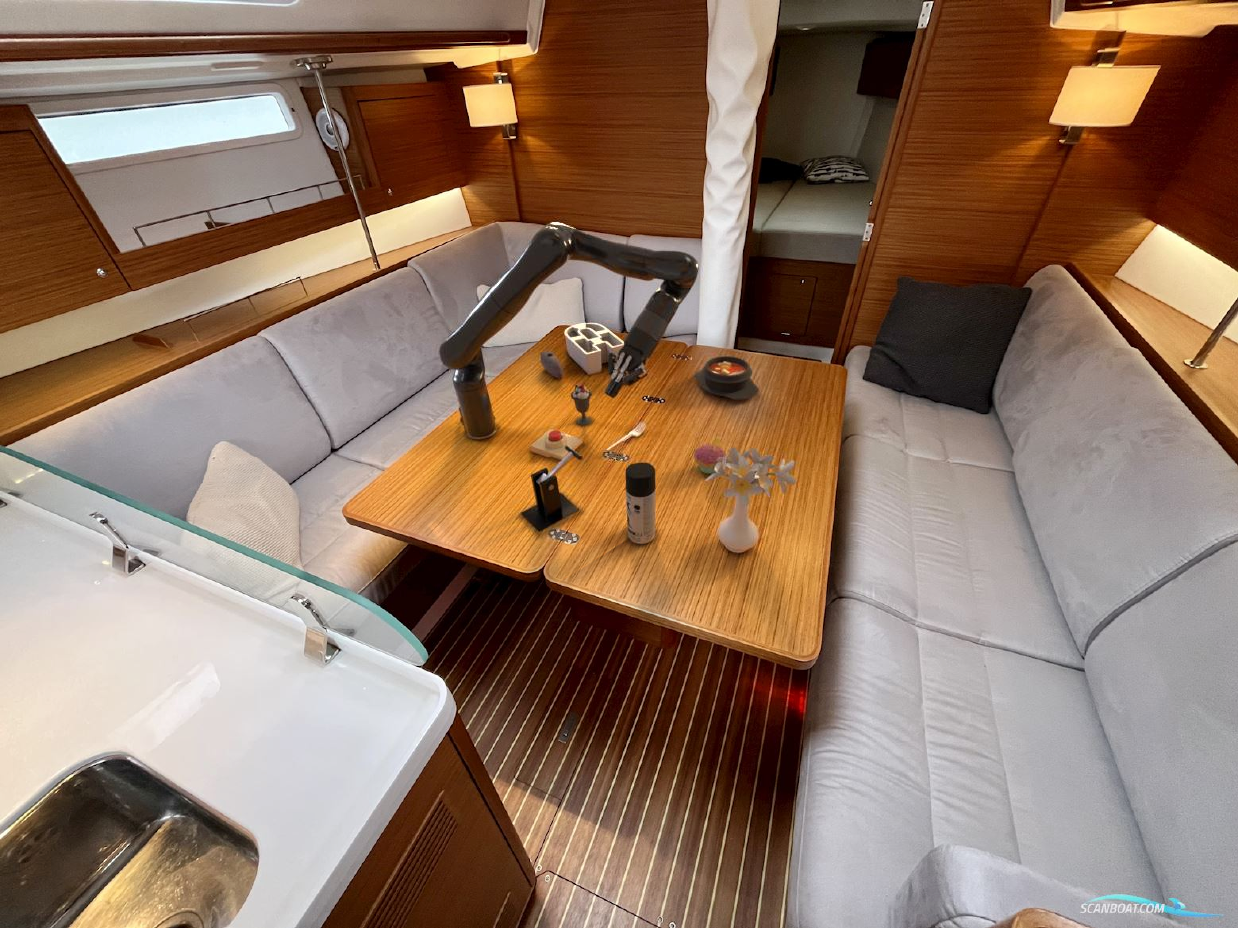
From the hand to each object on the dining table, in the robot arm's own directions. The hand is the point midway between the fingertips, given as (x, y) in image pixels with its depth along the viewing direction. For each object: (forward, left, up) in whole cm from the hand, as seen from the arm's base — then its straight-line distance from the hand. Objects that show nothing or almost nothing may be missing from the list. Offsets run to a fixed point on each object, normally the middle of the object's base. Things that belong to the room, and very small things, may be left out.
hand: (609, 395), depth 121 cm
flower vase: (+38, -6, -27) cm, 47 cm away
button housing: (-23, +4, -26) cm, 35 cm away
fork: (-7, +16, -27) cm, 32 cm away
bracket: (-7, -20, -26) cm, 34 cm away
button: (-23, +4, -23) cm, 33 cm away
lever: (-6, -15, -15) cm, 22 cm away
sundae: (-24, +20, -27) cm, 41 cm away
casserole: (+8, +61, -27) cm, 67 cm away
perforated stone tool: (-53, +42, -27) cm, 73 cm away
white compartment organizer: (-48, +61, -27) cm, 82 cm away
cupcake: (+21, +16, -27) cm, 38 cm away
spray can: (+17, -15, -27) cm, 35 cm away
